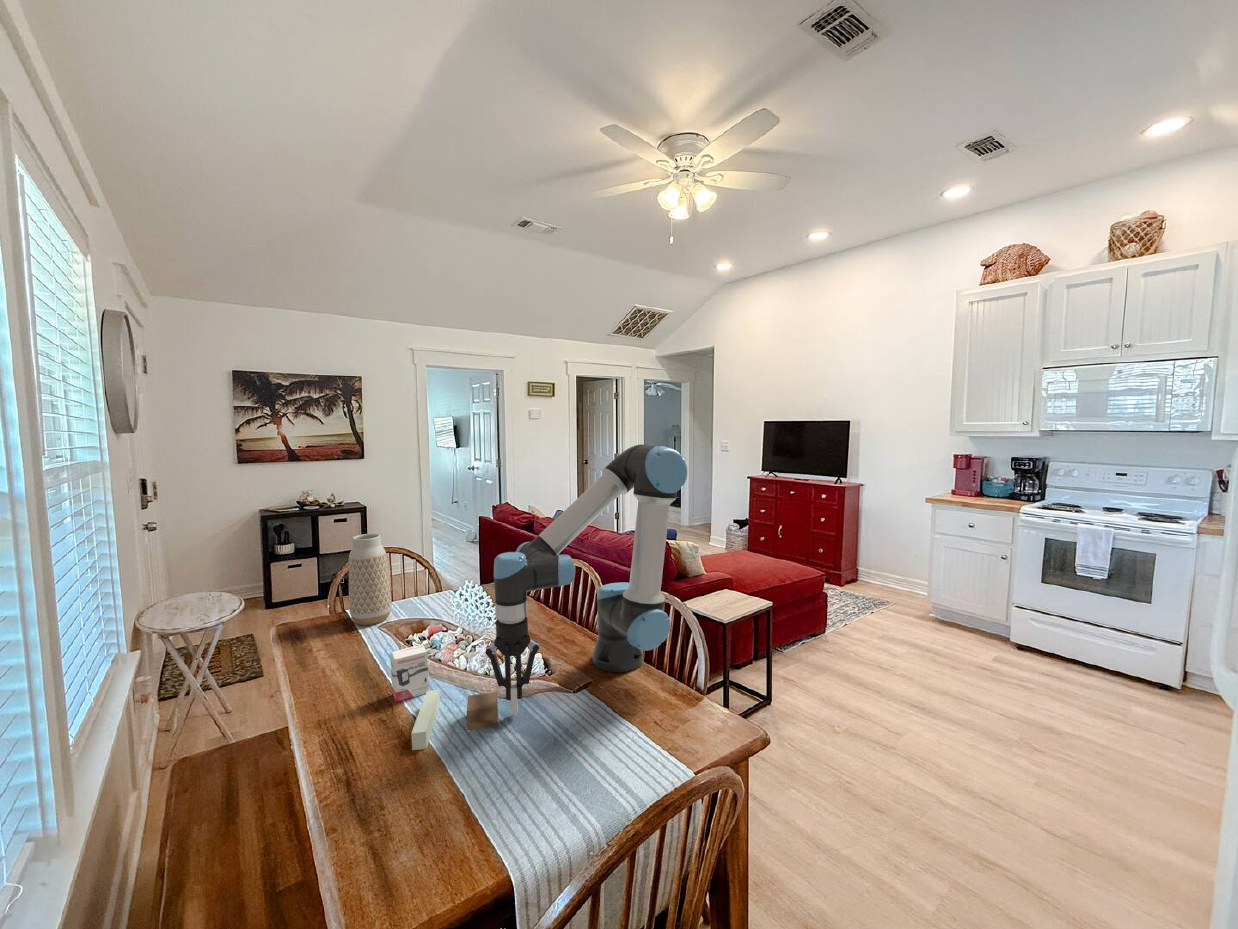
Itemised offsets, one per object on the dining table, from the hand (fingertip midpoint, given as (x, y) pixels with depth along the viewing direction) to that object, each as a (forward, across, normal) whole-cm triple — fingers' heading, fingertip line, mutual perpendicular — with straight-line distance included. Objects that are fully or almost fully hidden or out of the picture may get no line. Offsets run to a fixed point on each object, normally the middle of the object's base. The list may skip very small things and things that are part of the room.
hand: (514, 711), depth 130 cm
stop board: (+2, +20, 0) cm, 21 cm away
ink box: (+2, +28, -16) cm, 32 cm away
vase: (+2, +52, -71) cm, 88 cm away
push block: (+2, +8, 0) cm, 8 cm away
